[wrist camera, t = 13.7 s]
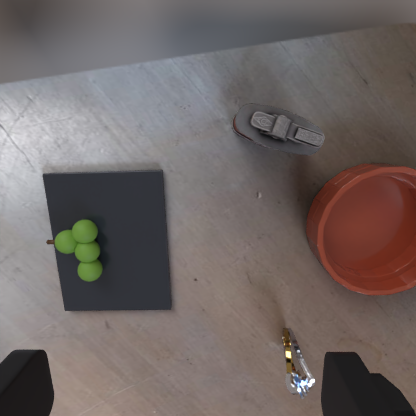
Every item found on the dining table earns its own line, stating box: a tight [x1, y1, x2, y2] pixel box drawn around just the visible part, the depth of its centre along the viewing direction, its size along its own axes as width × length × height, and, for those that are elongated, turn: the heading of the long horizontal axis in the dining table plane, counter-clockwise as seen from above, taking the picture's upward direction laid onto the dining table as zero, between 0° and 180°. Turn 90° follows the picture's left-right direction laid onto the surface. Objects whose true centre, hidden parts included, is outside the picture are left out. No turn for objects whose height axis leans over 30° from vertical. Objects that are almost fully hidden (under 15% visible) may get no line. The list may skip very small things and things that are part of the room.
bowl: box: [306, 163, 416, 295], centre depth 33 cm, size 14×14×4 cm
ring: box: [282, 328, 315, 399], centre depth 35 cm, size 7×3×8 cm, turn 5°
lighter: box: [232, 103, 324, 155], centre depth 28 cm, size 8×3×10 cm, turn 71°
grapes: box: [46, 220, 103, 281], centre depth 35 cm, size 8×3×6 cm
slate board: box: [43, 170, 172, 311], centre depth 36 cm, size 18×14×1 cm
